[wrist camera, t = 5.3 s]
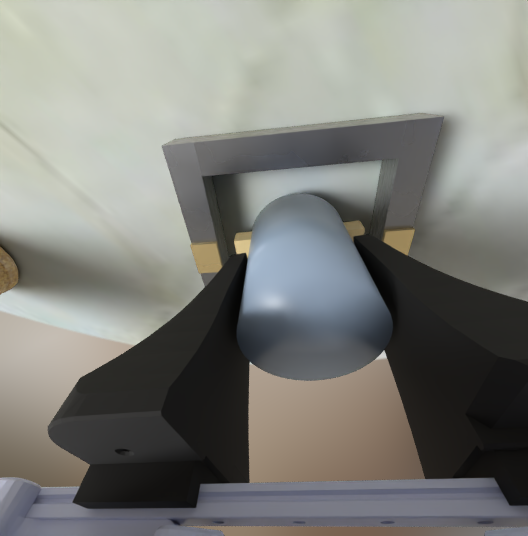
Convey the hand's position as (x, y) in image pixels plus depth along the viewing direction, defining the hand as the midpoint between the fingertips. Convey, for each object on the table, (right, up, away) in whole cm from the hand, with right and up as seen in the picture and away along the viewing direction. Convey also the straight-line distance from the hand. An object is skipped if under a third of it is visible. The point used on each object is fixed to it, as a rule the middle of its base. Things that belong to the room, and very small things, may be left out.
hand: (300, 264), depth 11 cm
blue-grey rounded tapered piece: (0, +1, +1) cm, 2 cm away
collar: (0, +2, +2) cm, 3 cm away
